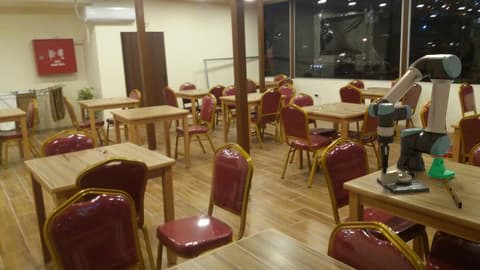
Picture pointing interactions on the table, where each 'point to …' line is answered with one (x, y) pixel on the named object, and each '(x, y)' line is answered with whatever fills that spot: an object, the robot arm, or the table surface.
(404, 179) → the silver ladle
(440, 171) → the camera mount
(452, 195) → the spirit level
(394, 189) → the stand
